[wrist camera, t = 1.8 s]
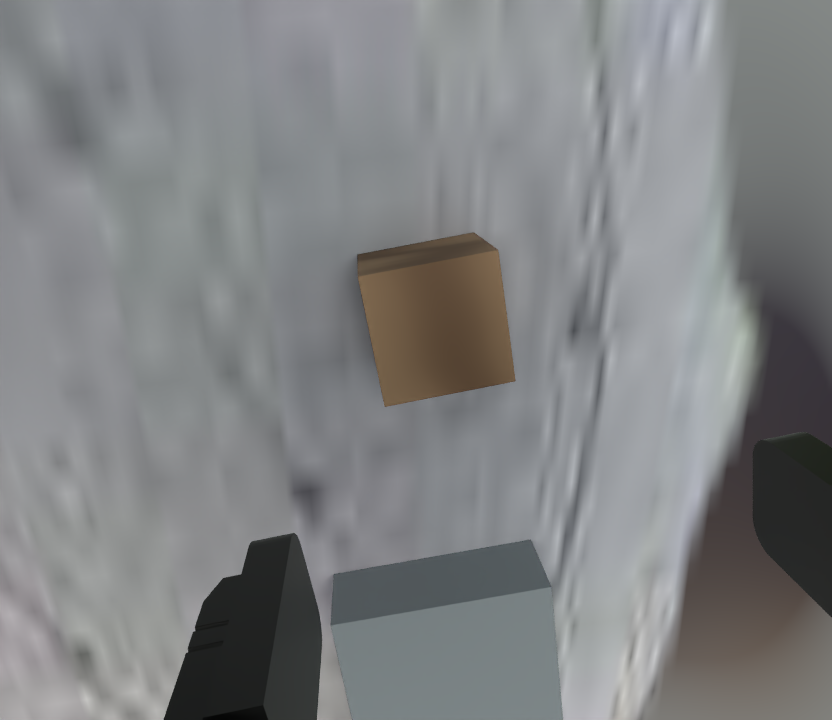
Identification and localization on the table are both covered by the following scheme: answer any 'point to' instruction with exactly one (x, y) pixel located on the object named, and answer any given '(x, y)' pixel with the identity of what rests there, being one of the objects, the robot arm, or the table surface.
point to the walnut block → (436, 317)
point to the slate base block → (449, 638)
